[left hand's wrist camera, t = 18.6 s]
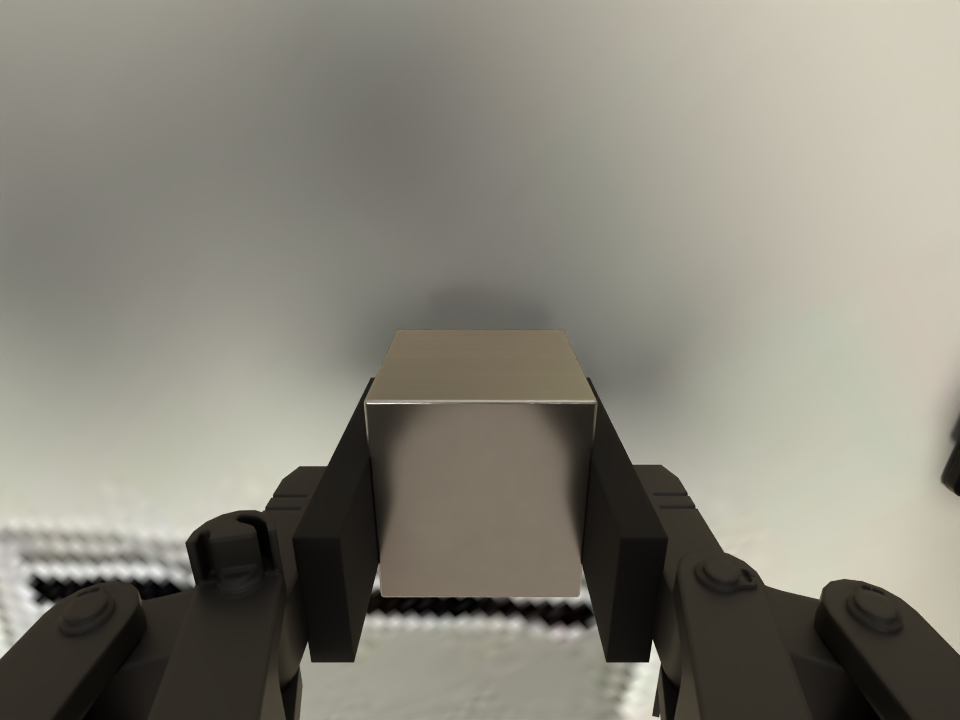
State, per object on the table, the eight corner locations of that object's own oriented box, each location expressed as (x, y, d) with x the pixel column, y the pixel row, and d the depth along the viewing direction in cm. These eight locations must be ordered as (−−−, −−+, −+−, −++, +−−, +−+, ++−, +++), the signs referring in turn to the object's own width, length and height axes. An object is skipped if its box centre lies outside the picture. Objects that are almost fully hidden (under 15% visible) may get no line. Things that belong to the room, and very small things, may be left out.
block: (406, 484, 16) (380, 598, 12) (397, 328, 14) (362, 400, 10) (554, 484, 16) (580, 598, 12) (564, 329, 14) (598, 400, 10)
